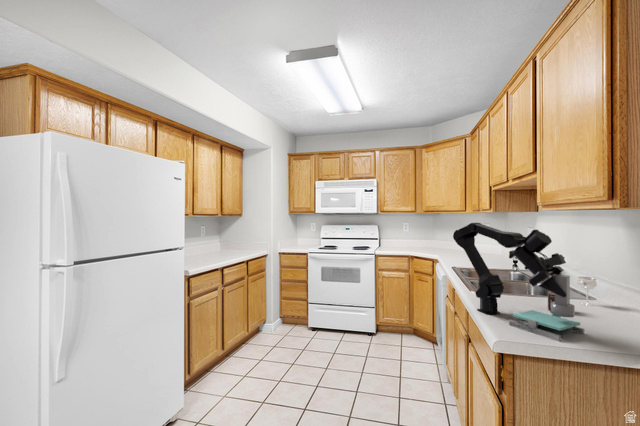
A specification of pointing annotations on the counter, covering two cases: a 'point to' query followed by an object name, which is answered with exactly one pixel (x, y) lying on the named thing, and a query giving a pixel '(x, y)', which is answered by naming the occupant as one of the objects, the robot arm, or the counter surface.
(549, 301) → the box
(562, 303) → the gray metal handle
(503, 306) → the counter surface
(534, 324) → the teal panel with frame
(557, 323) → the trapdoor
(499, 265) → the counter surface
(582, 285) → the wineglass
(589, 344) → the counter surface
